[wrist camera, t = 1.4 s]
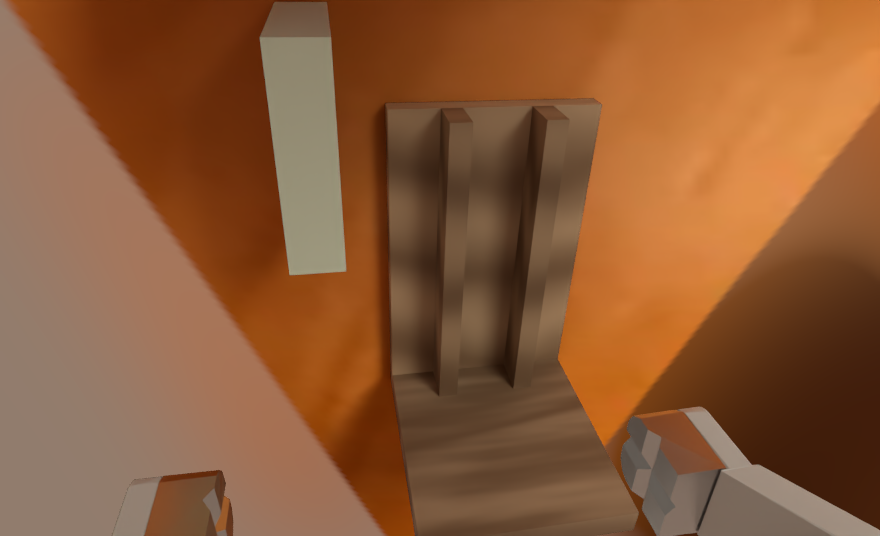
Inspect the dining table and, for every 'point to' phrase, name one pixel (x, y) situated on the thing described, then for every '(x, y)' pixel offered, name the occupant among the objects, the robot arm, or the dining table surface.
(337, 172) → the door panel
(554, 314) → the track board
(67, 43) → the dining table surface
